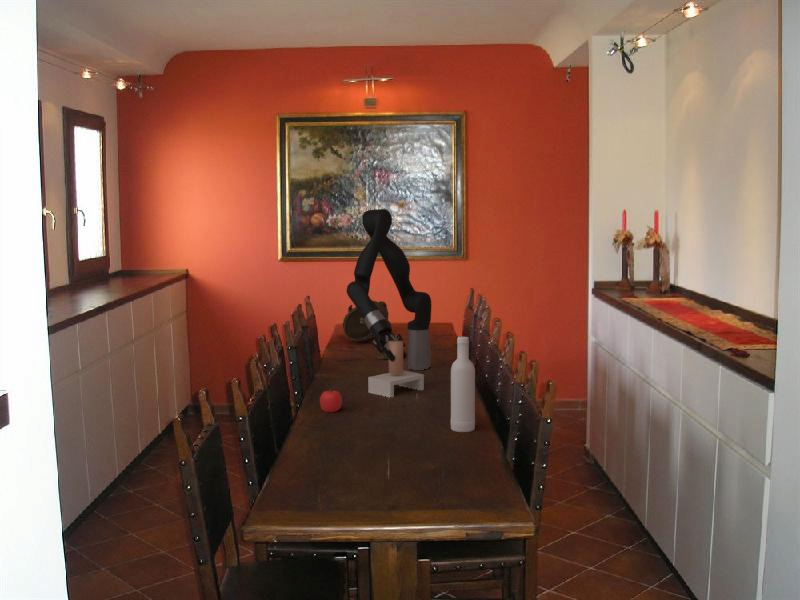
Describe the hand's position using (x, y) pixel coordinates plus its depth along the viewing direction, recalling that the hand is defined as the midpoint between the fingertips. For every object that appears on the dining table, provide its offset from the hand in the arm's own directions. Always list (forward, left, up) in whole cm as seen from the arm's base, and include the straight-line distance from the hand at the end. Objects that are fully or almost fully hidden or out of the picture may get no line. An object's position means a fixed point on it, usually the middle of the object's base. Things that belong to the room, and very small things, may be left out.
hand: (399, 358), depth 339 cm
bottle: (+23, +52, -13) cm, 59 cm away
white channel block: (0, -2, -13) cm, 13 cm away
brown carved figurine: (-42, -52, -13) cm, 68 cm away
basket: (-73, -97, -13) cm, 122 cm away
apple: (+37, +3, -13) cm, 39 cm away
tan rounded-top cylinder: (0, -2, -5) cm, 6 cm away
